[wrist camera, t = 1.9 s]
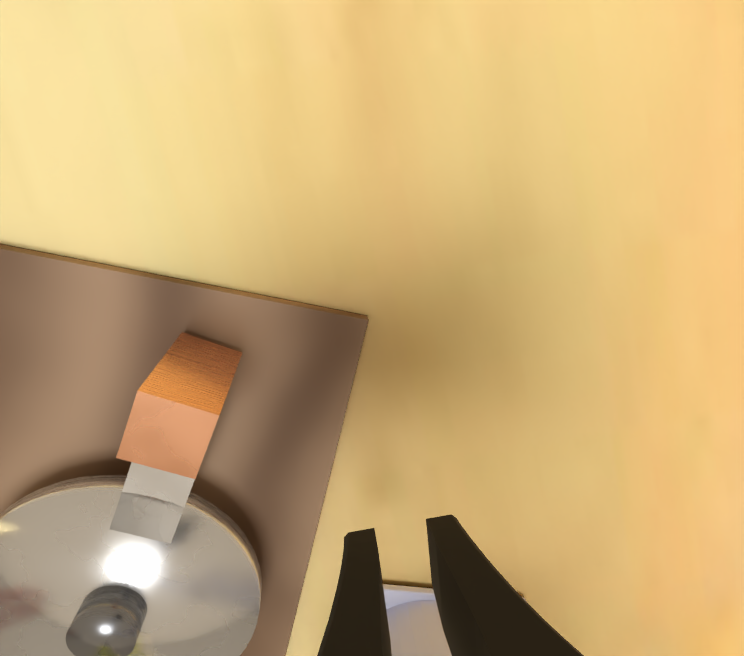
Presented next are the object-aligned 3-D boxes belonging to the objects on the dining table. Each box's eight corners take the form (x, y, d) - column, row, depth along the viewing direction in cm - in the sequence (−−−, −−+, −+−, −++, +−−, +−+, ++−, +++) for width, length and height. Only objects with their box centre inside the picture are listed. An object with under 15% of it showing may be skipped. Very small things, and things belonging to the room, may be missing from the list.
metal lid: (218, 686, 25) (195, 808, 20) (-39, 642, 22) (-132, 771, 18) (353, 390, 20) (365, 460, 16) (49, 286, 17) (-48, 334, 13)
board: (366, 315, 20) (370, 327, 19) (276, 683, 27) (274, 712, 25) (-127, 219, 17) (-167, 224, 16) (-93, 665, 24) (-119, 698, 22)
